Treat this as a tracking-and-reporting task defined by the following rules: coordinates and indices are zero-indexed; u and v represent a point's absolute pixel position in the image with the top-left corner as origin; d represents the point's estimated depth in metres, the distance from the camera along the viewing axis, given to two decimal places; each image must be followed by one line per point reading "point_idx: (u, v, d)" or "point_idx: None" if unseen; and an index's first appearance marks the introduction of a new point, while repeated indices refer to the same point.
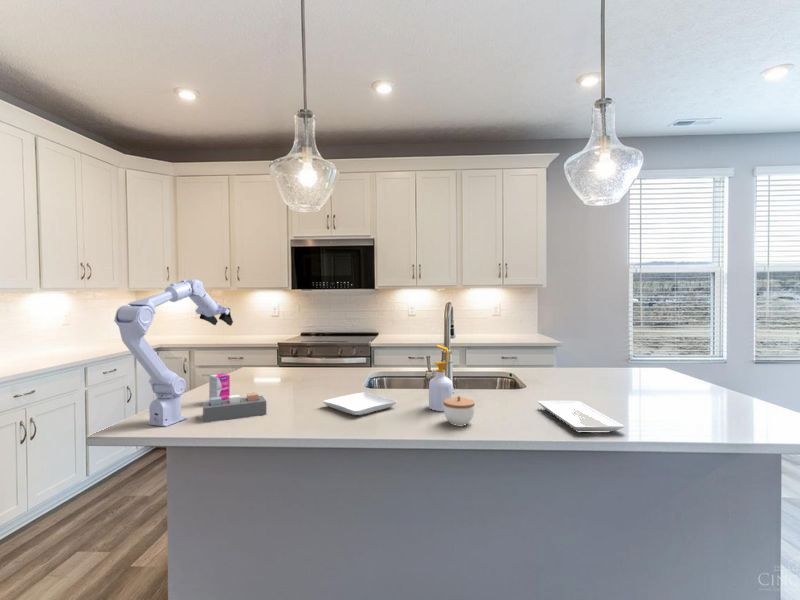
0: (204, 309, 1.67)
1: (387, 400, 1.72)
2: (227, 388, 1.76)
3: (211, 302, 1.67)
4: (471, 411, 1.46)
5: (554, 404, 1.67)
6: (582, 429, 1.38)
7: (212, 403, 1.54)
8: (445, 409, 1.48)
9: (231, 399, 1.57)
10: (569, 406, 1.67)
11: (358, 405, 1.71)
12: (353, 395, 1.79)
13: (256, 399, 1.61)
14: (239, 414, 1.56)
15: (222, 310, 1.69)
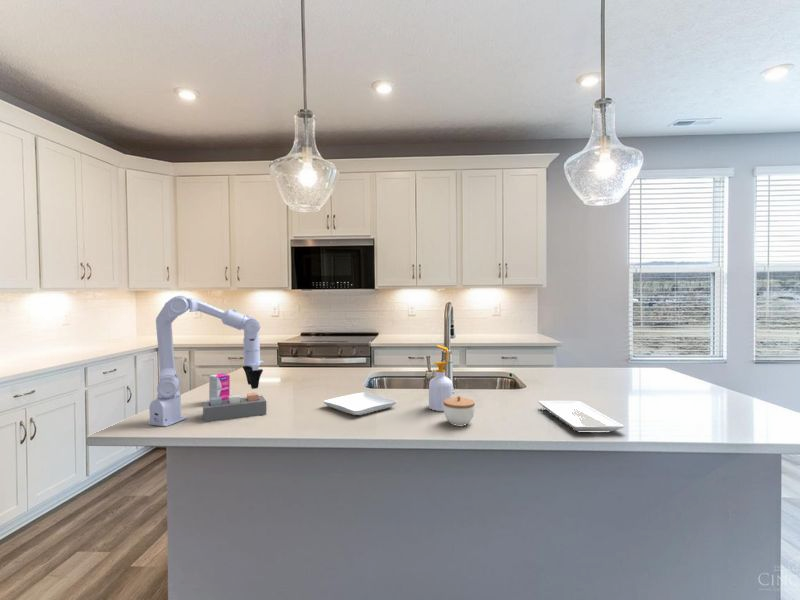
0: (244, 353, 1.60)
1: (387, 400, 1.72)
2: (227, 388, 1.76)
3: (253, 351, 1.60)
4: (471, 411, 1.46)
5: (555, 404, 1.67)
6: (582, 429, 1.38)
7: (212, 403, 1.54)
8: (445, 409, 1.48)
9: (231, 399, 1.57)
10: (570, 406, 1.67)
11: (358, 405, 1.71)
12: (353, 395, 1.79)
13: (256, 399, 1.61)
14: (239, 414, 1.56)
15: (254, 364, 1.58)
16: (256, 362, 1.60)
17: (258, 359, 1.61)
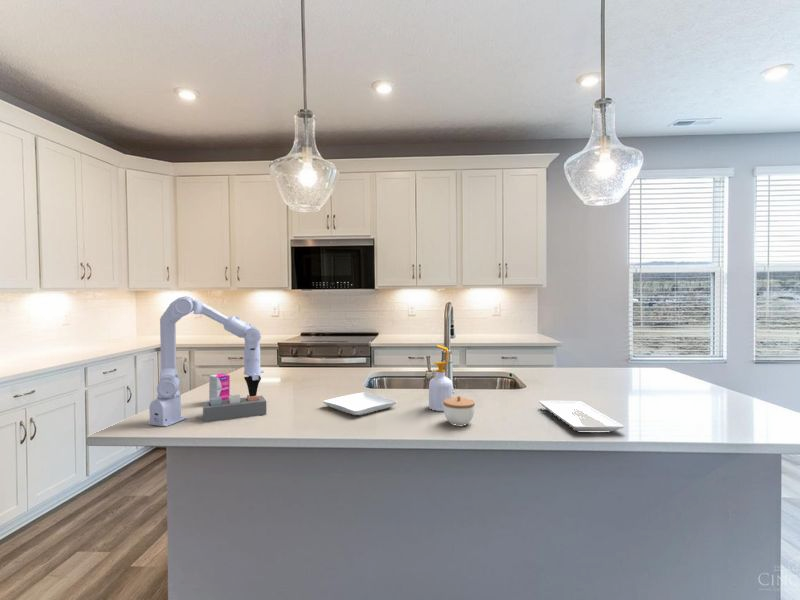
0: (244, 363, 1.60)
1: (387, 400, 1.72)
2: (227, 388, 1.76)
3: (254, 361, 1.59)
4: (471, 411, 1.46)
5: (555, 404, 1.67)
6: (582, 429, 1.38)
7: (212, 403, 1.54)
8: (445, 409, 1.48)
9: (231, 399, 1.57)
10: (570, 406, 1.67)
11: (358, 405, 1.71)
12: (353, 395, 1.79)
13: None
14: (239, 414, 1.56)
15: (254, 374, 1.57)
16: (256, 372, 1.60)
17: (258, 369, 1.61)
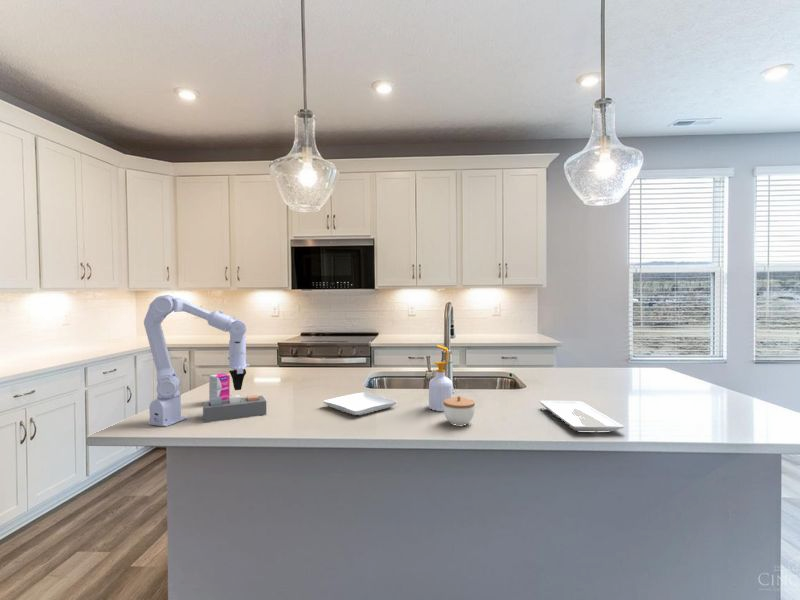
0: (229, 356, 1.57)
1: (387, 400, 1.72)
2: (227, 388, 1.76)
3: (239, 354, 1.57)
4: (471, 411, 1.46)
5: (556, 404, 1.67)
6: (581, 429, 1.38)
7: (212, 403, 1.54)
8: (445, 409, 1.48)
9: (231, 399, 1.57)
10: (571, 406, 1.67)
11: (358, 405, 1.71)
12: (353, 395, 1.79)
13: None
14: (239, 414, 1.56)
15: (239, 368, 1.55)
16: (241, 365, 1.58)
17: (243, 362, 1.59)
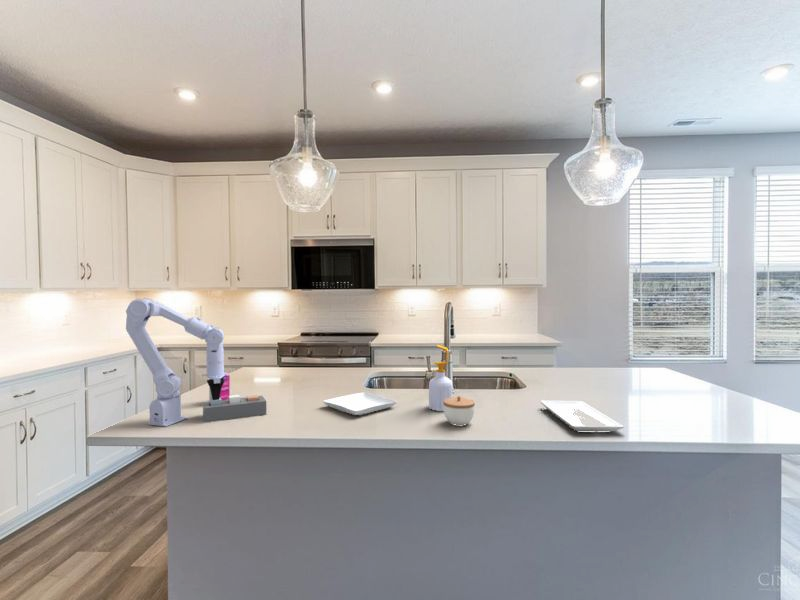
0: (207, 365, 1.54)
1: (387, 400, 1.72)
2: (227, 388, 1.76)
3: (216, 363, 1.54)
4: (471, 411, 1.46)
5: (556, 404, 1.67)
6: (581, 429, 1.38)
7: (212, 404, 1.54)
8: (445, 409, 1.48)
9: (231, 399, 1.57)
10: (572, 406, 1.67)
11: (358, 405, 1.71)
12: (353, 395, 1.79)
13: None
14: (239, 414, 1.56)
15: (216, 377, 1.51)
16: (219, 374, 1.54)
17: (221, 371, 1.55)
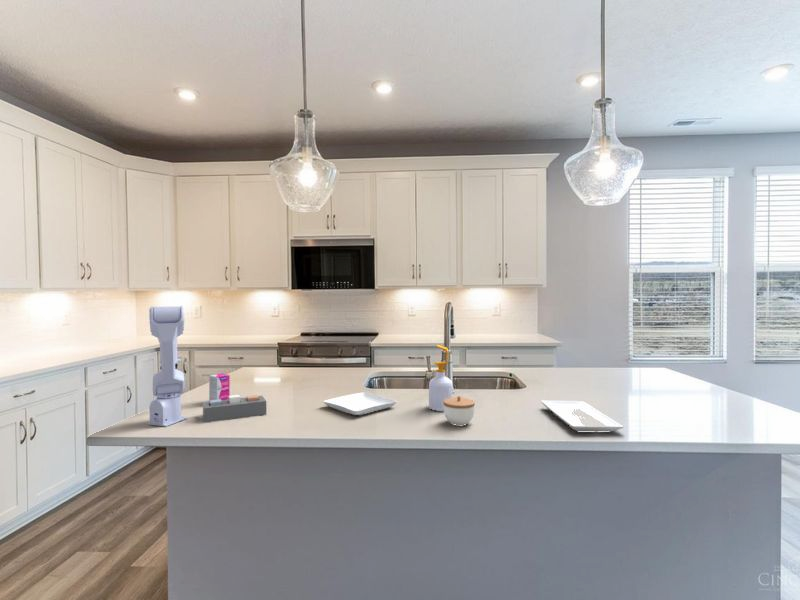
0: (160, 352, 1.61)
1: (387, 400, 1.72)
2: (227, 388, 1.76)
3: None
4: (471, 411, 1.46)
5: (557, 404, 1.67)
6: (580, 429, 1.38)
7: None
8: (445, 409, 1.48)
9: (231, 399, 1.57)
10: (573, 406, 1.67)
11: (358, 405, 1.71)
12: (353, 395, 1.79)
13: None
14: (239, 414, 1.56)
15: None
16: None
17: (174, 358, 1.62)
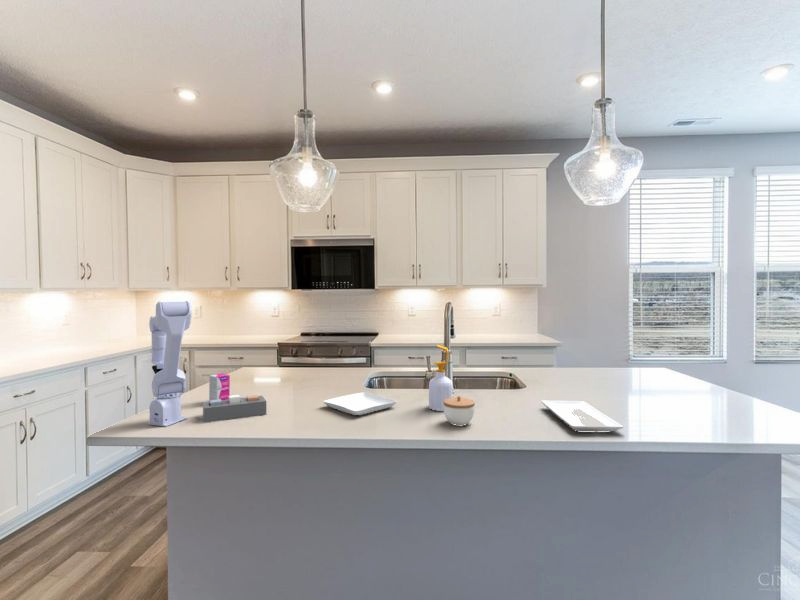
0: (152, 351, 1.61)
1: (387, 400, 1.72)
2: (227, 388, 1.76)
3: (161, 350, 1.61)
4: (471, 411, 1.46)
5: (558, 404, 1.67)
6: (580, 429, 1.38)
7: None
8: (445, 409, 1.48)
9: (231, 399, 1.57)
10: (573, 406, 1.67)
11: (358, 405, 1.71)
12: (353, 395, 1.79)
13: None
14: (239, 414, 1.56)
15: (159, 363, 1.58)
16: (163, 360, 1.61)
17: None
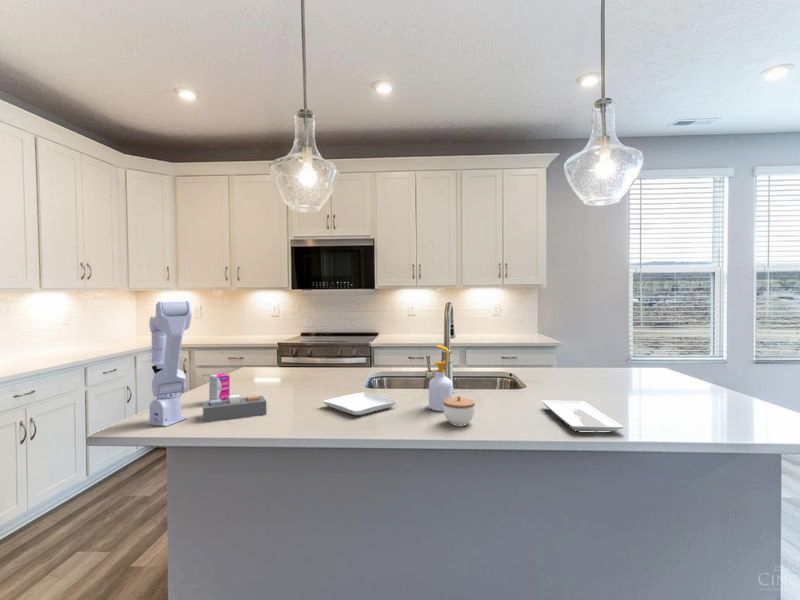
0: (152, 351, 1.61)
1: (387, 400, 1.72)
2: (227, 388, 1.76)
3: (161, 350, 1.61)
4: (471, 411, 1.46)
5: (558, 404, 1.67)
6: (580, 429, 1.39)
7: None
8: (445, 409, 1.48)
9: (231, 399, 1.57)
10: (573, 406, 1.67)
11: (358, 405, 1.71)
12: (353, 395, 1.79)
13: None
14: (239, 414, 1.56)
15: (159, 363, 1.58)
16: (163, 360, 1.61)
17: None
